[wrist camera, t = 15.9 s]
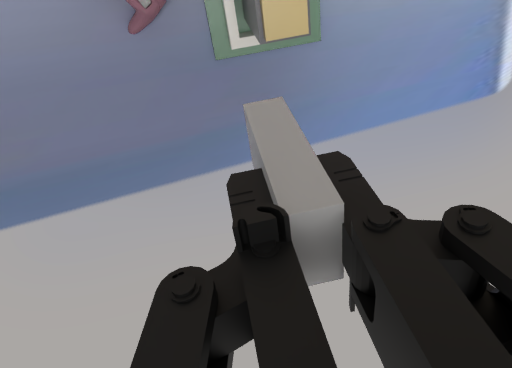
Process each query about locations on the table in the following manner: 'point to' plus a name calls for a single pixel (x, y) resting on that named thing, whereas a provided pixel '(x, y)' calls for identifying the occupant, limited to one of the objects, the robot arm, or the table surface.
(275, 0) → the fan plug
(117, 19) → the table surface
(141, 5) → the video game controller
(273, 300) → the robot arm
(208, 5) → the green square tray
